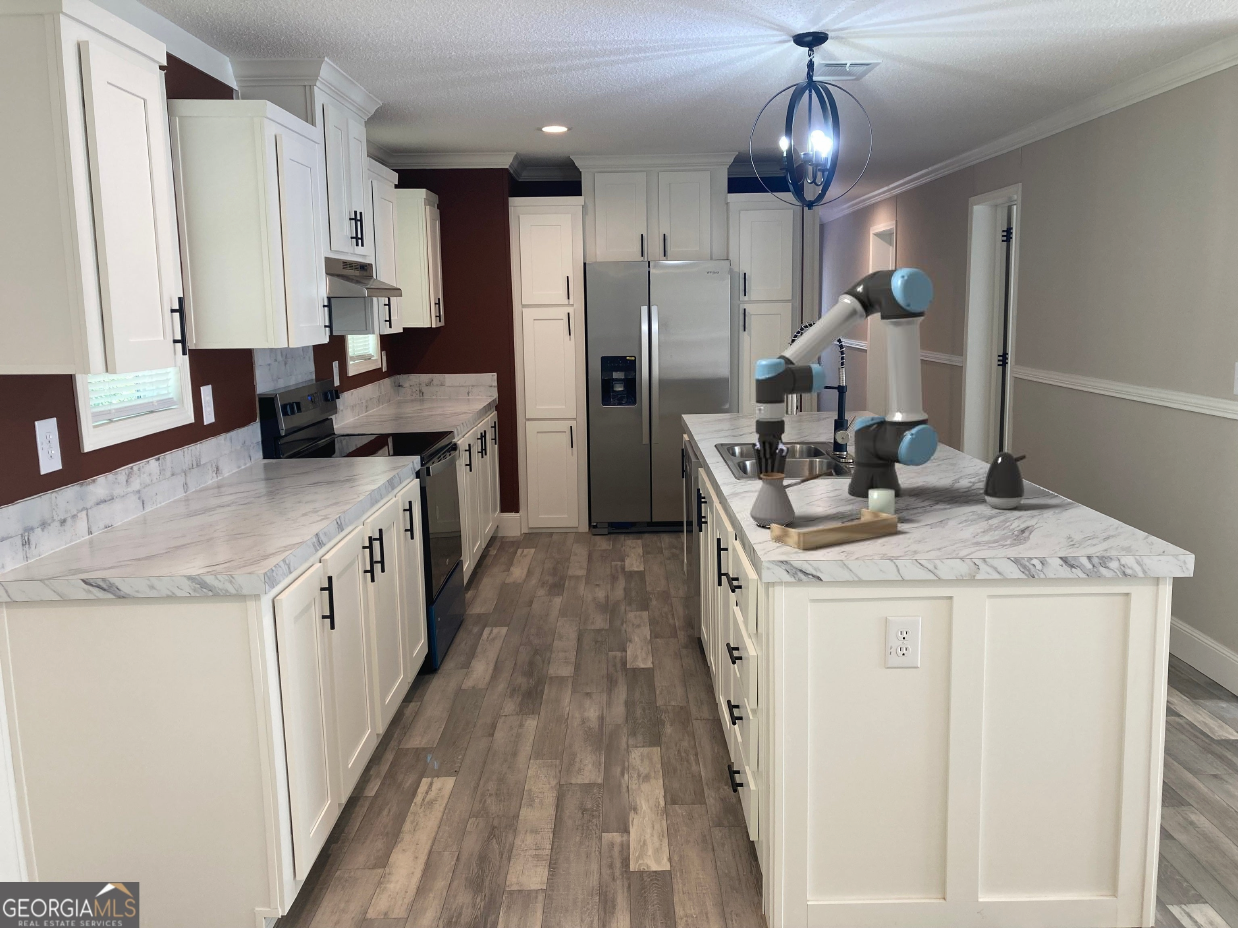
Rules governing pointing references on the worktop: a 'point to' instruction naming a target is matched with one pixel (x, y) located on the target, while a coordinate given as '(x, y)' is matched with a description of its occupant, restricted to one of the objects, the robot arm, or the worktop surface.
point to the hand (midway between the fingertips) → (770, 507)
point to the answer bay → (837, 531)
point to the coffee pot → (776, 499)
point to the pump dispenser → (1004, 482)
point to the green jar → (882, 500)
